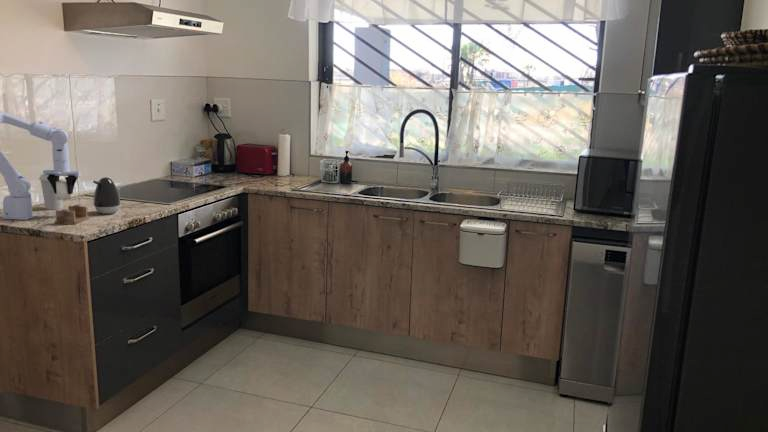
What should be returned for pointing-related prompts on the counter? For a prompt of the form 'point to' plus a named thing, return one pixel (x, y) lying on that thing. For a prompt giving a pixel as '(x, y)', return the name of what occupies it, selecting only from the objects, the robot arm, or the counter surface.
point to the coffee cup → (50, 194)
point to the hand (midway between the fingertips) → (63, 193)
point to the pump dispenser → (106, 196)
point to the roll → (62, 190)
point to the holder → (72, 215)
